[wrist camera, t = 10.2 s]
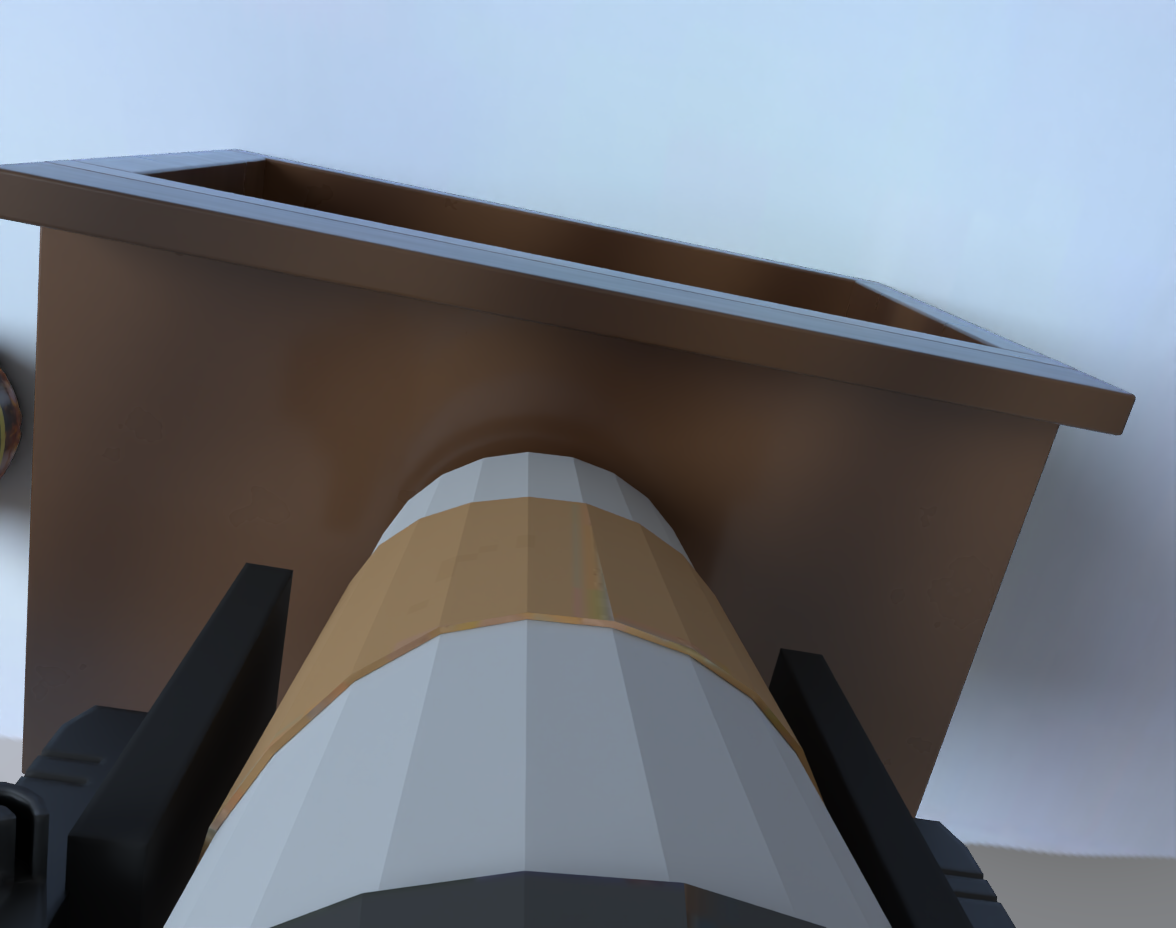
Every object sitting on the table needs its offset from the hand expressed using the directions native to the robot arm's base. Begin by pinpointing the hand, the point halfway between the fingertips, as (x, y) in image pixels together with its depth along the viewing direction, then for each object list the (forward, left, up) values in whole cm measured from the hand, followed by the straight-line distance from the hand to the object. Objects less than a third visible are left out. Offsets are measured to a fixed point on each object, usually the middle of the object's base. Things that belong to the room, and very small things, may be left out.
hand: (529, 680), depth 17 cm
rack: (0, 0, -16) cm, 16 cm away
